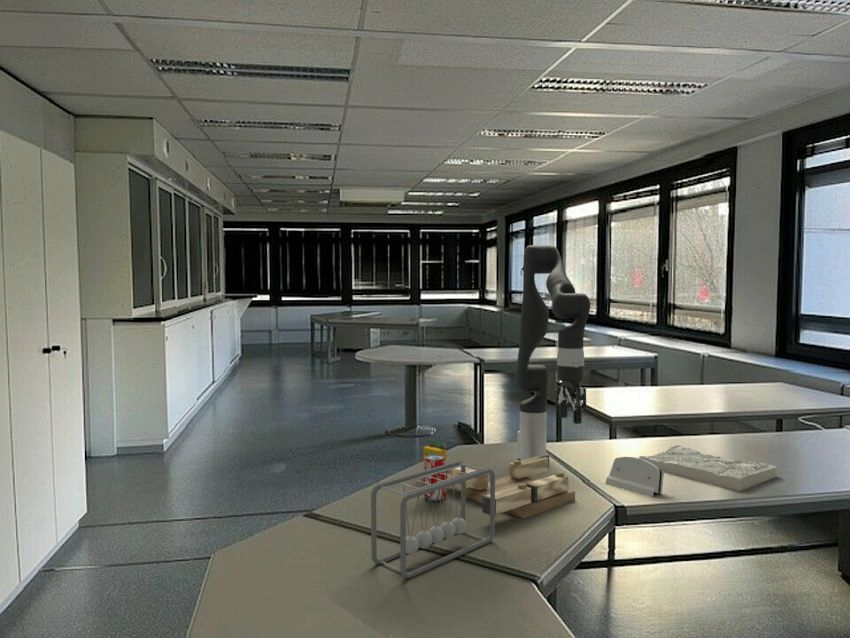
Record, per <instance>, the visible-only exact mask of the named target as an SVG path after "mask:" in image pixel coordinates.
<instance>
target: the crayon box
mask: <svg viewBox="0 0 850 638" xmlns="http://www.w3.org/2000/svg"><path fill="white" fill-rule="evenodd" d="M428 444H429V445H426V446H423V462H424V461H425V459H426V456H428V455H442V456H444V458H445V461H446V462H447V443H445V442H441V441H438V440H431V439H429V443H428ZM437 444H438V445H437Z"/></svg>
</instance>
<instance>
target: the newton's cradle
mask: <svg viewBox="0 0 850 638" xmlns="http://www.w3.org/2000/svg"><path fill="white" fill-rule="evenodd" d="M458 467H461V475H460V476H456V477H454V476H452V478H450V479H447V480H444V481H443V480H442V481H440V482H437V483H434V484H430V483H429V485H428V486H425V487H424V486H422V487H418V482H421V483H425V482H424V481H422V480H420V479H424V477H428V480H429V477H430V476H431V475H434V474H438V473H441V472H444V471H448V470H451V475H452V469H454V468H458ZM465 467H467V468H470V469H474V470H475V471H472V472H469V473H466V468H465ZM481 470H482V471H481ZM454 471H456V470H454ZM458 472H459V471H458ZM442 474H443V473H442ZM485 474H488V475H489V477H490V478H489V479H490V481H489V482H490V515H489V516H490V517H489V521H490V523H489V535H488V536H487V537H485V538H484V537H482V536H479V535H476V534H473V533H471V532H468V531H466V530H467V527H468V524H467V521H466V516H467V515H466V512H467V511H466V508H467V506H466V502H467V501H466V499H467V498H466V488H467V486H466V481H467V480H470V479H473V478H476V477H479V476H482V475H485ZM445 475H447V474H445ZM449 476H450V475H449ZM459 477H460V478H459ZM432 478H433V477H432ZM435 479H436V478H435ZM440 479H441V474H440ZM440 479H438V480H440ZM495 480H496V475H495V471H494V470H493V469H492V468H481V467H477V466H473V465H470V464H466V463H464V462H463V461H461V460H457V461H456V460H455V461H452V462H449V463H446V465H442V466H439V467H435V468H432V469H428V470H425V471H424V470H422V471H419V472H415V473H412V474H408V475H404V476H401V477H397V478H395V479H391V480H388V481H384V482H381V483H377V484H376V485H375V486H374V487H373V489H372V490H371V493H370V518H371V519H370V523H371V524H370V529H371V530H370V532H371V533H370V534H371V535H370V536H371V538H370V540H371V543H370V545H371V547H370V548H371V552H370V553H371V554H370V555H371V560H372V563H374V564H376V565H382V564H383V565H385V566H387V567H389V568H391V569H394V570H396V571H398V572H399V573H401V576H402V577H403V578H404V579H411V578H414V577H416V576H417V575H421V574H422V573H425V572H427V571H429V570H431V569H433V568H436V567H438V566H440V565H442V564H445V563H447V562H449V561H452V560H454V559H456V558H458V557H460V556H462V555H465V554H467V553H469V552H472V551H474V550H476V549H479V548H481V547H483V546H486V545H487V544H489V543H491V542H492V540H493V539H494V537H495V534H496V533H495V532H496V516H495ZM414 481H415V483H416V487H415V486H414V485H413V486H412V485H409V484H408V483H411V482H414ZM440 483H441V484H440ZM459 483H461V484H460V513H459V515H458V508H457V500H456V498H454V502H455V509H456V516H457V517H455V518H453V519H452V521H450V519H451V513H452V511H451V510H452V504H453V497H456V494H455V485H458V484H459ZM427 484H428V483H427ZM437 484H438V485H437ZM400 485H403V486H409V487H413V488H415V489H412V490H410V491H405V490H406V488H405V487H403V492H400V491H398V490H394V489H392V488H393V487H397V486H400ZM448 487H452V488H453V490H452V495H451V496H452V497H451V502H450V503H451V504H450V510H449V515H448V520H447V518H445V522H442V523H441V525H440V526H439V520H440V511H441V505H442V502H443V507H444V515H445V517H447V513H446V505H445V499H444V498H445V497H443V499H442V494H443V488H446V489H447V488H448ZM424 488H425V489H424ZM381 489H384V490H386V491H390V492H393V493H394V494H395V493H396V494H399V495H401V496H403V498H402V499H401V502H400V503H399V504H400V505H399V512H400V513H399V519H400V520H399V523H400V524H399V525H400V529H399V530H400V531H399V532H400V533H399V535H400V544H399V546H400V547H399V548H400V550H399V551H395V552H393V553H391V554H387V555H385V556H383V557H380V558H378V556H377V554H378V553H377V550H378V549H377V548H378V547H377V539H378V538H377V495H378V494H377V493H378V491H380V490H381ZM439 489H442V494H441V499H442V500H443V501H442V500H439V501H440V502H439V503H440V504H439V509H438V514H437V515H438V517H437V524H436V523H435V520H436V519H435V514H434V512H432V516H433V524H434V526H432V527H430V528H429V530H428V531H427V524H428V516H429V509H430V502H431V508H432V509H431V510H432V511H434V506H433V501H432V498H431V500H430V498H429V500H428V504H427V505H428V506H427V513H426V520H425V526H424V525H423V518H422V511H421V509H419V513H420V521H421V531H419V532H418V533H417V534H416V535H415V536H416V537H415V536H413V531H414V525H415V519H416V512H417V506H419V508H421V504H420V503H421V502H420V496H423V495H424V494H427V493H430V496H431V492H433V491H436V490H439ZM414 498H416V503H415V511H414V517H413V522H412V523H413V524H412V529H411V534H410V526H409V524H407V523H409V518H408V515H407V514H408V511H407V510H408V508H407V503H408V502H409V501H410V500H412V499H414ZM423 526H424V527H425V528H424V527H423ZM406 527H407V528H406ZM407 531H408V536H406V534H407V533H406V532H407ZM461 534H466V535H469V536H472V537H475V538H478V539H480V541H477V542H475V543H473V544H470V545H468V546H466V547H464V548H462V549H459V550H457V551H455V552H454V551H453V553H449V554H448V555H445V556H443V557H441V558H439V559H436V560H434V561H432V562H430V563H427V564H425V565H423V566H420V567H418V568H416V569H414V570H411V571H409V572H407V555H412V554H415V553H416V552H418V550H419V549H427V548H429V547H430V546H431V545H432V544H440V543H441V542H443V541H444V539H445V540H447V539H448V540H449V539H452V538H453V537H454V536H455V535H461ZM399 557H400V558H399ZM397 558H399V559H400V562H399V563H400V567H399V568H398V567H396V566H393V565H391V564H390V563H387V562H389V561H392V560H395V559H397Z"/></svg>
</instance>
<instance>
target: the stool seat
mask: <svg viewBox="0 0 850 638" xmlns="http://www.w3.org/2000/svg"><path fill="white" fill-rule="evenodd" d="M465 468H466V473H469V472H472V471H475V470H476V469H474V468H471V467H467V466H465ZM549 469H550V455H548V454H546V455H545V456H536V457H532V458H529V459H525V460H520V459H515V460H513V462H511V463H509V475H507V476H505V477H500V478H496V479H495V517H496V516H497V515H499V514H501V513H502V514H503V513H506V514H510V515H512V516H516V517H518V518H520V519H526V518H529V517H531V516H535V515H538V514H541V513H543V512H546V511H548V510H552V509H554V508H556V507H560V506H562V505H565V504H568V503H570V502H574V501H576V491H574V490H572V489H569V488H568V491H565V492H562V493H559V494H556V495H553V496H550V497H547V498H544V499H541V500H538V501H537V502H533V501H531V488H529V487H527V484H524V483H529V482H533V481H536V480H537V479H535V478H532V477H531V476H535V475H538V474H541V473H545V472H549ZM454 470H456V471H454ZM458 471H459V472H458ZM481 471H482V470H481ZM446 474H447V475H446V480H447V479H450V478H452V476H454V477H456V476H460V475H461V467H458V468H454V469H452V475H451V470H448V471H446ZM449 475H450V476H449ZM459 478H460V477H459ZM488 480H489V473H488V474H485V475H482V476H479V477H476V478H473V479H470V480H467V481H466V499H469V500H471V501H475V502H477V503H480V504H482V507H481V508H482V513H483V514H486V515H489V516H490V481H488ZM458 484H459V485H461V483H458Z"/></svg>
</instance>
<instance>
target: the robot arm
mask: <svg viewBox="0 0 850 638" xmlns="http://www.w3.org/2000/svg"><path fill="white" fill-rule="evenodd" d="M522 263H523V265H522V266H523V267H522V268H523V270H522V271H523V273H522V274H523V275H522V278H523V279H522V281H523V283H522V284H523V285H522V288H523V289H522V301H521V310H520V311H521V312H520V323H519V343H518V344H519V346H518V353H517V361H516V367H515V368H516V369H515V378H514V382H515V384H514V385H515V387H516V390H517V391H519V392H522V393H523V392H526V393H528V392H529V393H531V392H534V395H533V396H531V397H529V398H527V399H524V400H522V401H521V402H520V403H519V430H518V431H517V433H516V435H517V437H516V438H517V439H516V444H517V445H516V452H517V453H516V456H517V457H516V458H517V460H519V461H521V460H525V459H529V458H532V457H536V456H545V455H547V406H548V405H547V404H548V389H549V388H548V387H549V374H548V369H547V366H546V365H544V364H529V361H530V359H531V357H532V355H533V353H534V351H535V350H536V348H537V347H538V346H539V345H540V343H541V342H542V340H543V339H544V338H545V336H546V334H547V333H548V329H549V328H548V327H549V317H550V316H549V315H550V313H549V308H548V306H547V304H546V303H545V301H544V299H543V298H542V296H541V294H540V292H539V290H538V287H537V285H536V280H535V277H536V275H537V274H539V275H540V274H541V275H543V274H545V275H546V274H549V275H548V276H547V278H546V282H545V286H546V289H547V291H548V294H549V295H550V297H551V301H552V302H551V303H552V304H551V310H552V313H553V315H554V316H556V318H560V319H574V321H572V324H570V325H567V326H562V327H560V328H559V329H558V332H557V338H558V339H557V342H558V343H557V356H556V379H557V380H556V382H555V401H556V402H557V403H558V405H559V407H558V408H559V409H558V411H559V412H558V413H559V414H558V415H559V417H560V418H561V419H564V418H565V419H566V418H567V417H568V403H570V404H571V406H572V408H573V410H572V423H573V424H575V425H580V424H581V423H582V412H583V411H584V410H586V409H587V388H586V386H584V387H583V386H581V385H580V382H584V380H585V350H584V334H585V329H586V325H587V321H588V317H589V315H590V310H591V300H590V298H589V297H588V295H587V294H586V293H581V292H579V293H578V292H577V293H576V290H575V289H576V288H575V287H574V285H573V284H572V281H571V280H570V278H569V277H568V275H567V273H566V270H565V266H564V263H563V260H562V257H561V254H560V251H559V250H558V248H557V247H556V246H554V245H549V244H548V245H547V244H541V245H540V244H536V245H535V244H531V245H527V246H526V248H525V249H524V253H523V262H522Z"/></svg>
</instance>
